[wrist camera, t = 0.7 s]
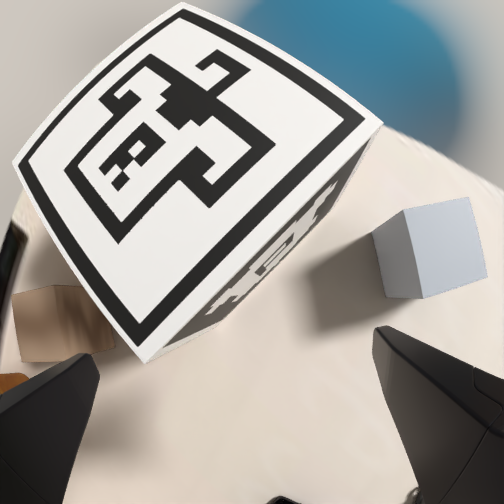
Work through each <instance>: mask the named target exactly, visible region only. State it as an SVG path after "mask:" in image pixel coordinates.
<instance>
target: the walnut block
mask: <svg viewBox="0 0 504 504" xmlns="http://www.w3.org/2000/svg"><path fill="white" fill-rule="evenodd" d="M11 299H12V307H13V315H14V322H15V328H16V334H17V340H18V345H19V350H20V355H21V360H22V362H56V361H65V360H66V359H68V358H70V357H72V356H74V355H76V354H78V353H88V354H94V353H97V352H100V351H104V350H107V349H110V348H114V347H115V344H114V339H113V334H112V329H111V323H110V322H109V321H108V319H107V318H106V317H105V315H104V314H103V313H102V311H101V310H100V309H99V307H98V306H97V305H96V303H95V302H94V301H93V299H92V298H91V297H90V295H89V294H88V292H87V291H86V290H85V288H84V287H81V286H63V285H52V286H47V287H43V288H39V289H34V290H30V291H26V292H22V293H17V294H13V295H11Z"/></svg>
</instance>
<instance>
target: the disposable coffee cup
mask: <svg viewBox="0 0 504 504" xmlns="http://www.w3.org/2000/svg"><path fill="white" fill-rule="evenodd" d="M27 380H29V378H28V377H27V376H25V375H24V374H22V373H10V374H0V394H3V393H4V392H6V391H8V390H10V389H11V388H13V387H15V386H17V385H19V384H21V383H23V382H25V381H27Z"/></svg>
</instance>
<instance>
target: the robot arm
mask: <svg viewBox="0 0 504 504" xmlns="http://www.w3.org/2000/svg"><path fill="white" fill-rule="evenodd" d="M372 354H373V359H374V363H375V366H376V369H377V373H378V376H379V380H380V383H381V387H382V391H383V394H384V397H385V400H386V403H387V405H388V408H389V410H390V413H391V415H392V417H393V420H394V422H395V425H396V427H397V430H398V432H399V435H400V437H401V440H402V442H403V445H404V448H405V450H406V453H407V455H408V458H409V461H410V463H411V466H412V469H413V471H414V474H415V477H416V480H417V482H418V485H419V488H420V491H421V494H422V497H423V499H424V502H425V504H504V379H501V378H499V377H496V376H494V375H492V374H489V373H487V372H485V371H483V370H481V369H479V368H476V367H473V366H472V365H470V364H468V363H466V362H463V361H461V360H459V359H457V358H455V357H453V356H451V355H449V354H447V353H444V352H442V351H440V350H438V349H436V348H434V347H432V346H430V345H428V344H426V343H423V342H421V341H419V340H417V339H415V338H413V337H411V336H409V335H407V334H405V333H402V332H400V331H398V330H396V329H394V328H392V327H390V326H381V327H377V328H375V329H374V332H373V348H372ZM99 380H100V374H99V371H98V369H97V367H96V365H95V363H94V360H93V358H92V356H91V355H90V354H88V353H78V354H76V355H74V356H72V357H70V358H68V359H66V360H65V361H63V362H61V363H59V364H57V365H55V366H53V367H51V368H49V369H48V370H46V371H44V372H42V373H40V374H38V375H36V376H34V377H32V378H30V379H29V380H27V381H25V382H23V383H21V384H19V385H17V386H15V387H13V388H11V389H10V390H8V391H6V392H4V393H3V394H0V504H62V502H63V499H64V495H65V491H66V488H67V484H68V481H69V478H70V474H71V471H72V468H73V465H74V461H75V458H76V455H77V452H78V449H79V446H80V443H81V440H82V437H83V434H84V431H85V428H86V426H87V423H88V420H89V417H90V414H91V410H92V406H93V402H94V398H95V395H96V391H97V387H98V383H99ZM280 500H284V501H280ZM271 504H300V503H297V502H295V501H292V500H290V499H288V498H286V497H283V496H281V497H278V498H277V499H276V500H275V501H273V502H272V503H271Z"/></svg>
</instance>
